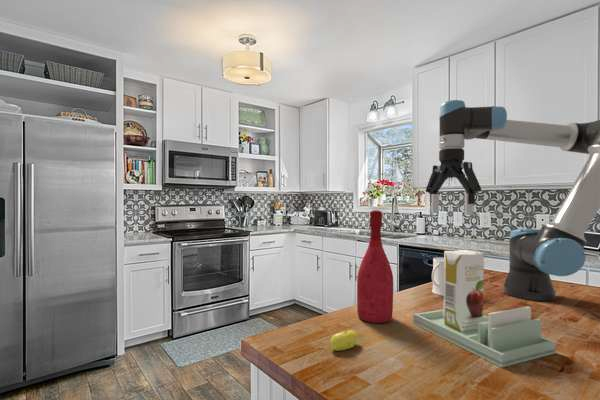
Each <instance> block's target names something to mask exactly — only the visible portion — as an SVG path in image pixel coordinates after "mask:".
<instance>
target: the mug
mask: <svg viewBox="0 0 600 400" xmlns="http://www.w3.org/2000/svg"><path fill="white" fill-rule="evenodd" d="M432 262H433V263H432V265H433V266H432V267H433V268H432V271H431V281H432V290H431V292H432V293H433V294H434V295H438V296H443V297H444V257H433V259H432Z"/></svg>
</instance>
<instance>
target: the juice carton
mask: <svg viewBox="0 0 600 400" xmlns="http://www.w3.org/2000/svg"><path fill="white" fill-rule="evenodd" d="M443 252H444V253H443V254H444V255H443V256H444V257H443V258H444V296H443V303H442V304H443V305H442V310H443V322H444V324H445V325H448V326H450V327H452V328H454V329H457V330H459V331H461V332H467V331H471V330H477V329H478V323H482V322H483V315H484V284H485V283H484V280H485V279H484V275H485V270H484V269H485V268H484V267H485V261H484V260H485V258H484V257H485V256H484V255H485V254H484V252H479V251H476V250H475V251H474V250H469V249H459V250H455V251H454V250H444V251H443Z"/></svg>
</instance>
